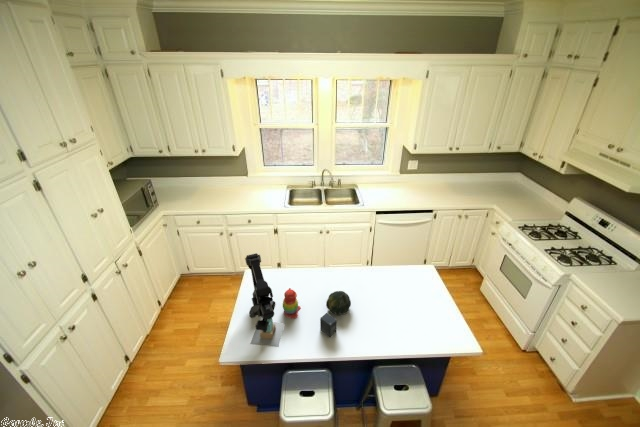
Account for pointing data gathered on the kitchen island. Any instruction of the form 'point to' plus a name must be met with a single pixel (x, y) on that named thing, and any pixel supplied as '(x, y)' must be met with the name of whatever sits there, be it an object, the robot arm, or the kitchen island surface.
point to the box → (328, 325)
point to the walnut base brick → (268, 333)
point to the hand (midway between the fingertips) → (267, 325)
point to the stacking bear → (291, 304)
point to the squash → (338, 302)
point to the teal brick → (269, 325)
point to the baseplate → (269, 342)
